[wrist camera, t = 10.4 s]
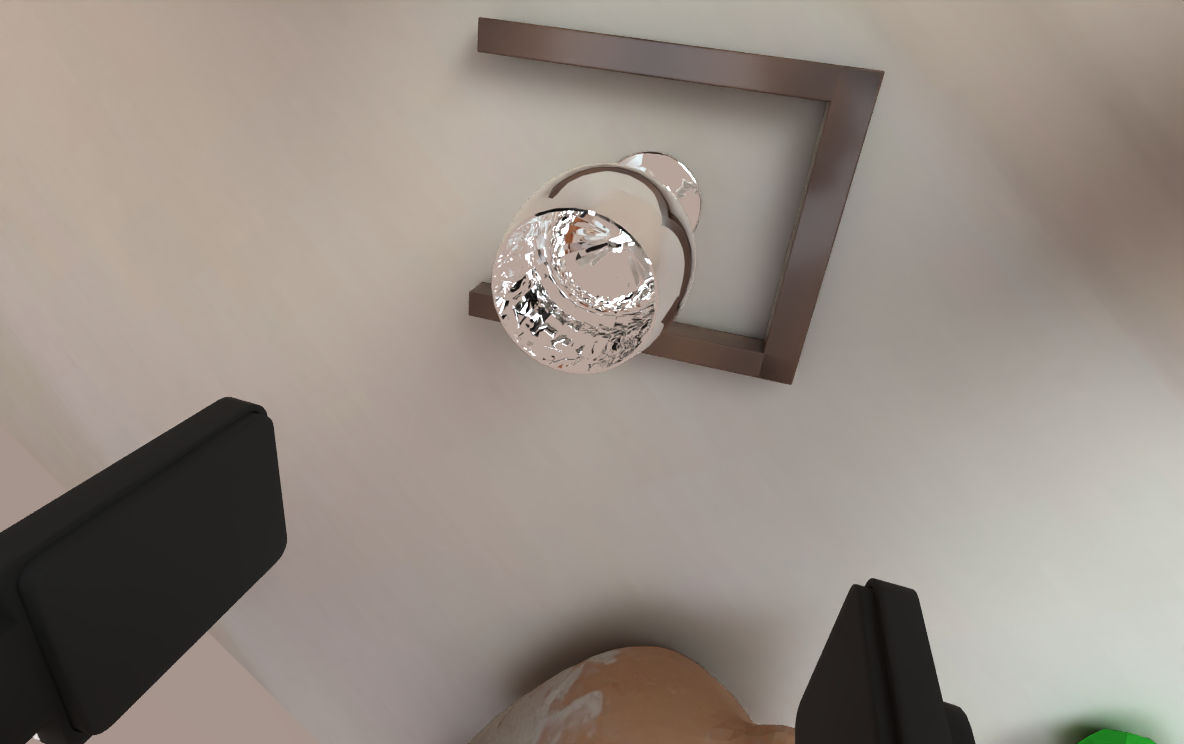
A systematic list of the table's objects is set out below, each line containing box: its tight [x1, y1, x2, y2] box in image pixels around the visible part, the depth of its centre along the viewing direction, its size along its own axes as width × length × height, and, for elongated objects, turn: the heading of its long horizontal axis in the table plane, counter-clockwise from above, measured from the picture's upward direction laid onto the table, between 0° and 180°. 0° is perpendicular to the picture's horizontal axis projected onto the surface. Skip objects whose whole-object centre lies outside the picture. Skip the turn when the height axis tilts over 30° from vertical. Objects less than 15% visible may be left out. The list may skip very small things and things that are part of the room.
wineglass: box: [491, 151, 702, 374], centre depth 23 cm, size 6×6×12 cm
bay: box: [469, 17, 884, 385], centre depth 27 cm, size 15×12×2 cm
